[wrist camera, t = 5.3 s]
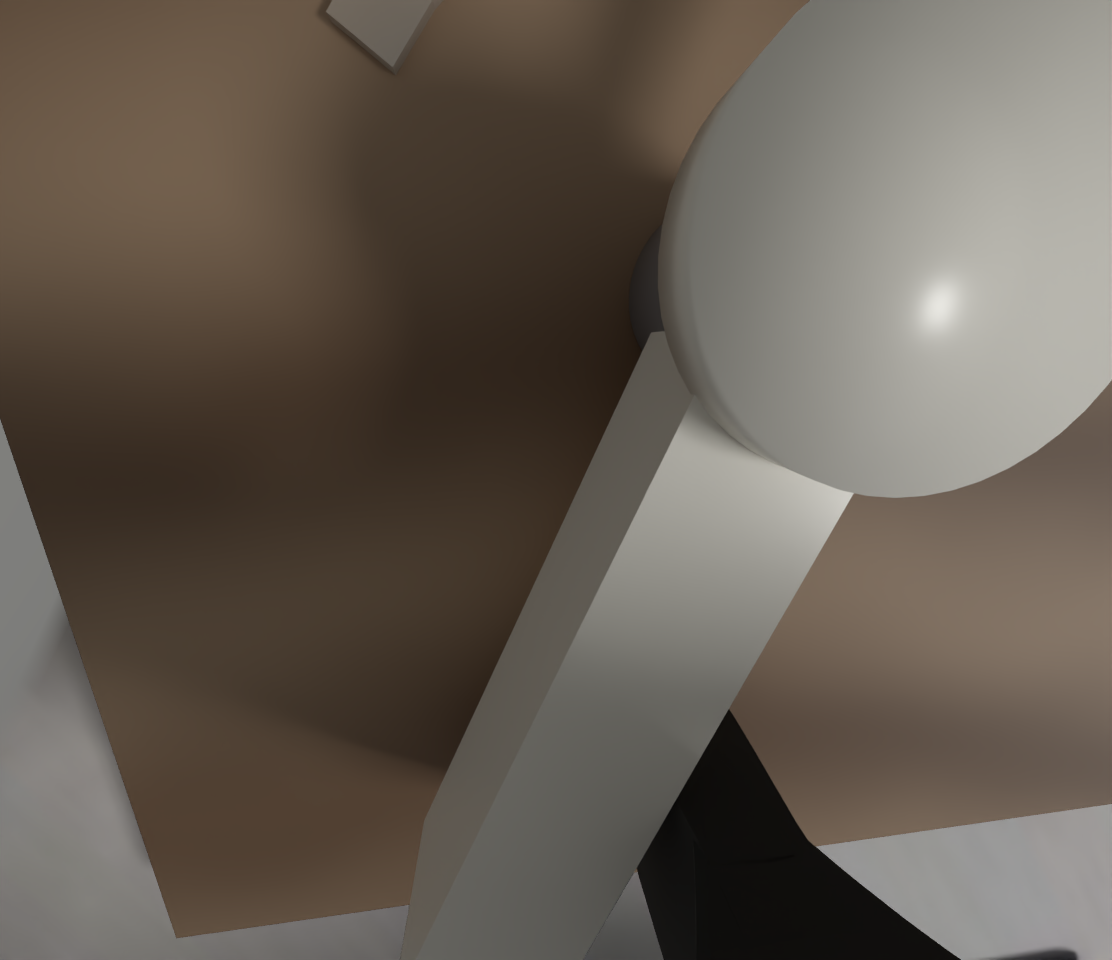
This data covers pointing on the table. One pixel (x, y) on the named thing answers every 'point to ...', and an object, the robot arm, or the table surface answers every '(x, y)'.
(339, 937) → the table surface
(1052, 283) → the lever
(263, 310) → the wood grain tray mat
